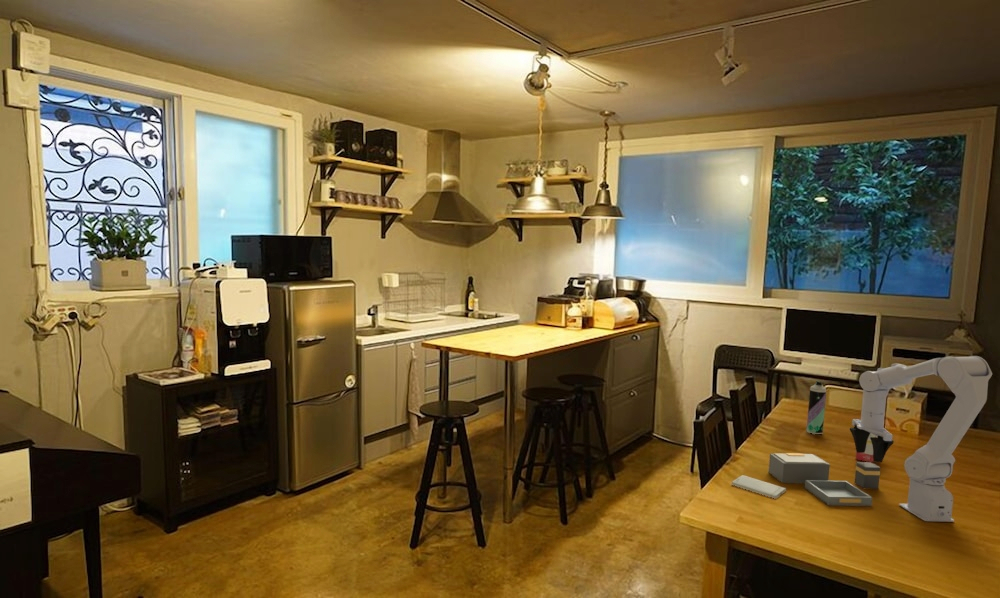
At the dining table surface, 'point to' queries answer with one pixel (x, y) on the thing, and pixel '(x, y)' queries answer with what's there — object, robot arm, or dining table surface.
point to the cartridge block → (867, 475)
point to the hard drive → (759, 486)
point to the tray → (838, 493)
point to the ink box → (867, 451)
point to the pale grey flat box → (798, 467)
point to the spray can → (816, 408)
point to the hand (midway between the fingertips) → (868, 456)
